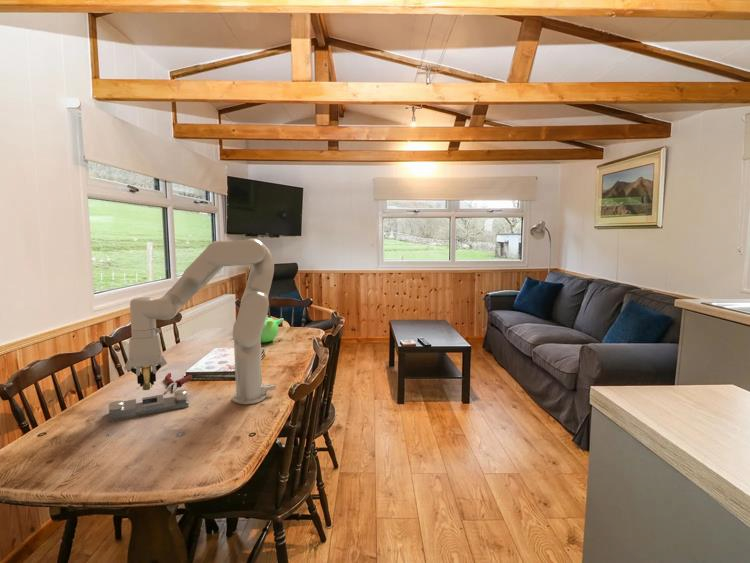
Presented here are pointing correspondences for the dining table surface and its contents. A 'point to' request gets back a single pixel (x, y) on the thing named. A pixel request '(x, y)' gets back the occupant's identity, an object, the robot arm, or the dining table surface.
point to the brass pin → (146, 377)
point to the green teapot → (270, 329)
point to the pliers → (177, 383)
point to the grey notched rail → (147, 406)
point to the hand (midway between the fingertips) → (147, 384)
